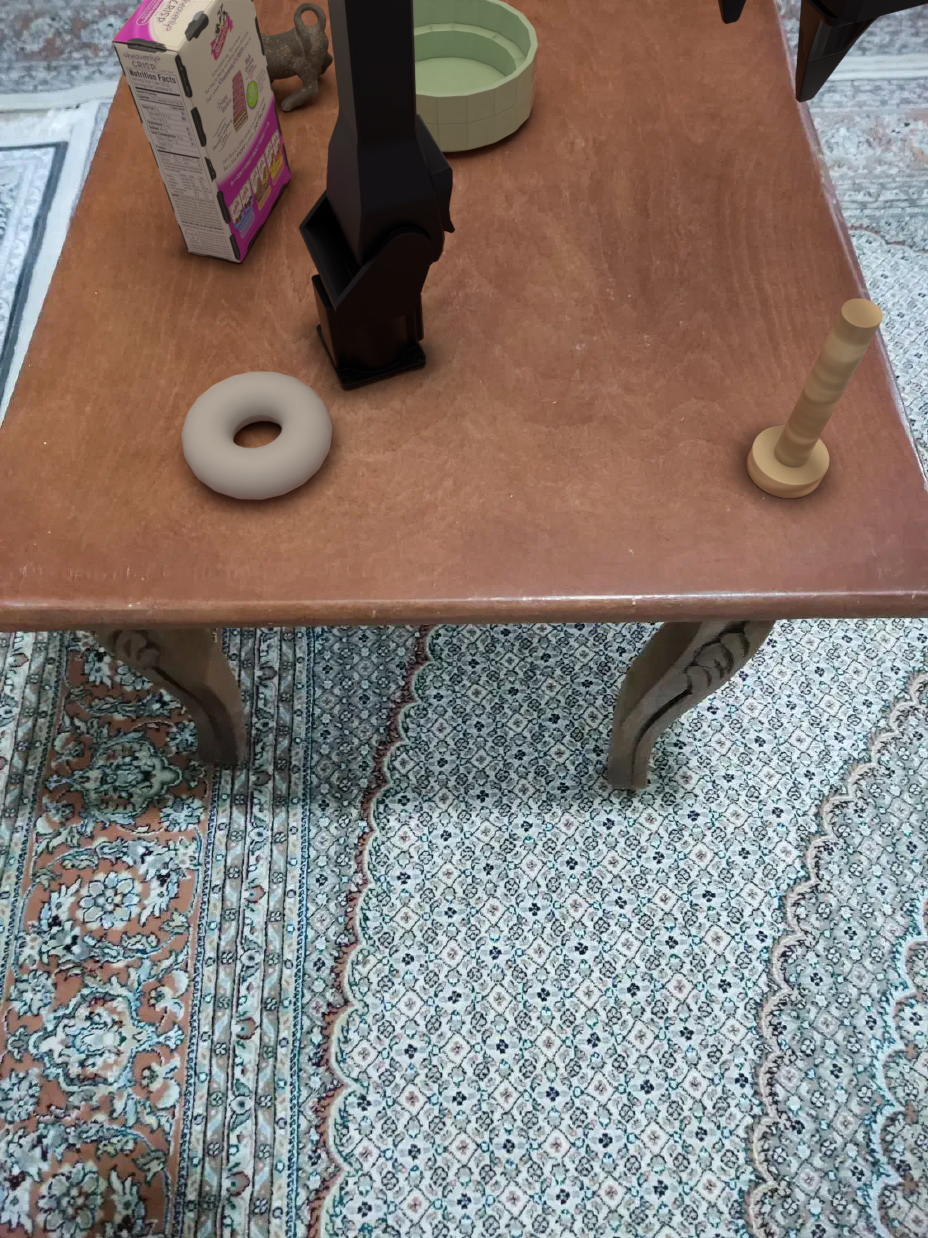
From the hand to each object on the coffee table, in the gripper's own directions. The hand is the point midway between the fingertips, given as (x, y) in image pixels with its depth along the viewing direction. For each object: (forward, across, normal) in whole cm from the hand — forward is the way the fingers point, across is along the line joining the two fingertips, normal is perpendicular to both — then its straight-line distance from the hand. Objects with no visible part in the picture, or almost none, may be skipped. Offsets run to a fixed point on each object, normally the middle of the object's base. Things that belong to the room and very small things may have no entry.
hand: (765, 59), depth 56 cm
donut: (+14, -6, +38) cm, 41 cm away
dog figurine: (+14, +33, +27) cm, 45 cm away
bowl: (+14, +25, +13) cm, 32 cm away
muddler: (+14, -21, +6) cm, 26 cm away
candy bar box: (+14, +18, +34) cm, 41 cm away
